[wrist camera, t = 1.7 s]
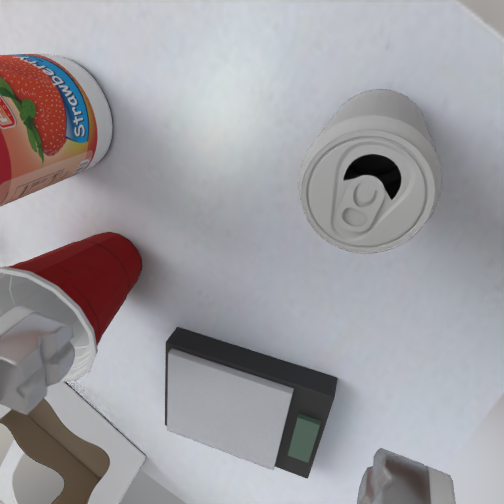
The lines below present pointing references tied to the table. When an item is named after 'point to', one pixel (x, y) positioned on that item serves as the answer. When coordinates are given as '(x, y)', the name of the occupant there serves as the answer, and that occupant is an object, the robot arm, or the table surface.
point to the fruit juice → (48, 122)
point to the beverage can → (371, 174)
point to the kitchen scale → (245, 402)
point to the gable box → (76, 447)
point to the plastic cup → (75, 289)
